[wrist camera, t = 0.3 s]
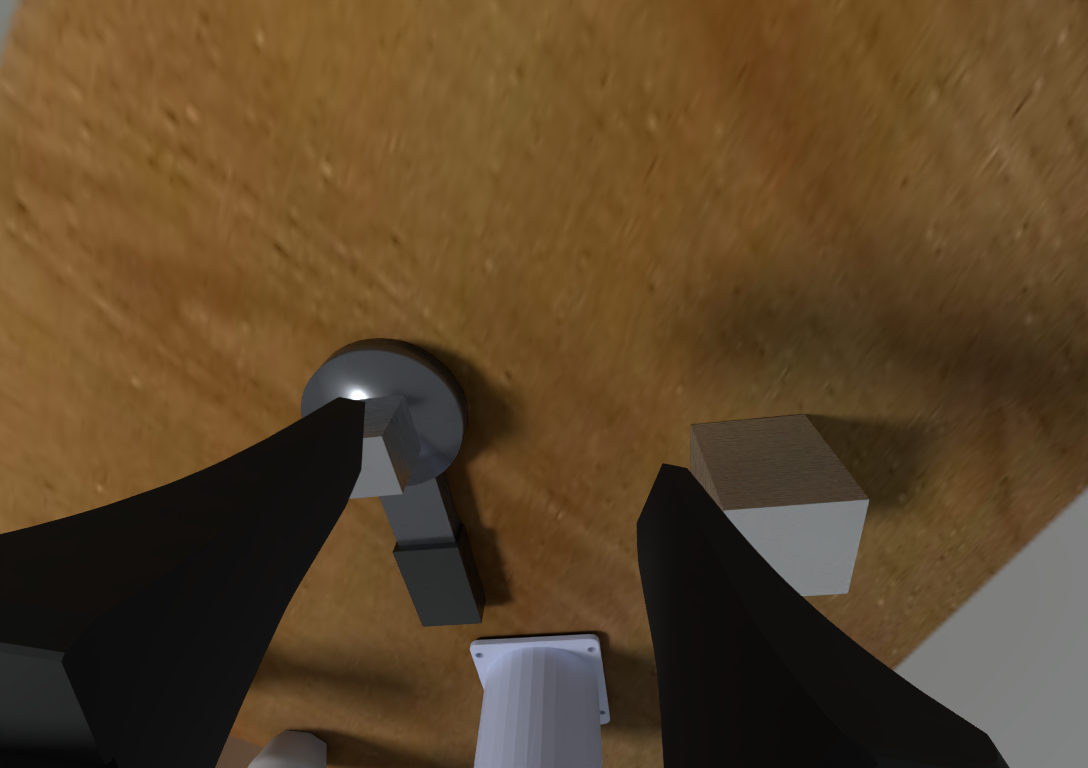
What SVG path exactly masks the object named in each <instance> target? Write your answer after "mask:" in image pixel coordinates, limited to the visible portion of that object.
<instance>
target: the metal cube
mask: <svg viewBox="0 0 1088 768" xmlns="http://www.w3.org/2000/svg"><path fill="white" fill-rule="evenodd" d="M691 473H692V474H693V476H694V477H695V478H696V479H697V480H698V482H699V483H700V484H701V485H702V486H703V488H704V489H705V490H706V491H707V493H708V494H709V495H710V496H711V497H712V499H713V500H714V501H715V502H716V504H717V505H718V506H719V507H720V509H721V510H722V511H723V512H724V513H725V515H726V516H727V517H728V518H729V519H730V521H731V522H732V523H733V524H734V525H735V527H736V528H737V529H738V530H739V531H740V532H741V534H742V535H743V536H744V537H745V538H746V539H747V540H748V542H749V543H750V544H751V545H752V546H753V547H754V548H755V549H756V550H757V551H758V553H759V554H760V555H761V556H762V557H763V558H764V559H765V560H766V561H767V562H768V563H769V564H770V565H771V566H772V568H773V569H774V570H775V571H776V572H777V573H778V574H779V575H780V576H781V577H782V578H783V579H784V580H785V581H786V582H787V583H788V584H789V585H791V586H792V587H793V588H794V589H795V590H796V591H797V592H798V593H799V594H800V595H801V596H812V595H829V594H846V593H848V590H849V585H850V581H851V577H852V572H853V568H854V564H855V560H856V555H857V551H858V547H859V542H860V538H861V534H862V529H863V525H864V521H865V517H866V512H867V508H868V504H869V498H868V497H867V496H866V494H865V493H864V492H863V490H862V489H861V488H860V486H859V485H858V484H857V482H856V481H855V480H854V479H853V477H852V476H851V475H850V473H849V472H848V471H847V469H846V468H845V467H844V465H843V464H842V463H841V461H840V460H839V459H838V457H837V456H836V455H835V453H834V452H833V451H832V450H831V448H830V447H829V446H828V444H827V443H826V442H825V440H824V439H823V438H822V436H821V435H820V434H819V432H818V431H817V430H816V428H815V427H814V426H813V424H812V423H811V422H810V421H809V419H808V418H807V417H806V415H805V414H802V415H791V416H780V417H770V418H759V419H748V420H738V421H727V422H716V423H705V424H695V425H691Z"/></svg>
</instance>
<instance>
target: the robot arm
mask: <svg viewBox="0 0 1088 768" xmlns="http://www.w3.org/2000/svg"><path fill="white" fill-rule="evenodd" d="M364 416H365V402H362V401H358V400H353V399H348V398H343V397H338V398H336V399H334V400H332V401H330V402H329V403H327V404H325V405H324V406H322V407H320V408H319V409H317V410H315V411H314V412H312V413H310V414H308V415H307V416H305V417H303V418H302V419H300V420H298V421H297V422H295V423H293V424H292V425H290V426H288V427H286V428H284V429H283V430H281V431H279V432H277V433H276V434H274V435H272V436H270V437H269V438H267V439H265V440H263V441H261V442H259V443H257V444H255V445H253V446H251V447H249V448H247V449H245V450H243V451H241V452H239V453H237V454H235V455H233V456H231V457H229V458H227V459H225V460H223V461H221V462H219V463H217V464H215V465H212V466H210V467H208V468H206V469H203V470H201V471H199V472H196V473H194V474H191V475H189V476H187V477H184V478H182V479H179V480H177V481H174V482H172V483H169V484H167V485H164V486H161V487H158V488H155V489H153V490H150V491H147V492H144V493H141V494H138V495H135V496H132V497H129V498H127V499H124V500H121V501H118V502H115V503H112V504H109V505H106V506H103V507H100V508H96V509H93V510H90V511H86V512H83V513H79V514H76V515H73V516H69V517H66V518H62V519H58V520H55V521H51V522H47V523H43V524H40V525H36V526H32V527H28V528H24V529H20V530H16V531H12V532H8V533H3V534H0V768H215V766H216V764H217V761H218V759H219V757H220V754H221V752H222V750H223V747H224V745H225V743H226V740H227V738H228V736H229V733H230V731H231V729H232V726H233V724H234V722H235V719H236V717H237V715H238V712H239V710H240V708H241V705H242V703H243V701H244V698H245V696H246V694H247V692H248V690H249V687H250V685H251V683H252V681H253V679H254V676H255V674H256V672H257V670H258V667H259V665H260V663H261V661H262V659H263V656H264V654H265V652H266V650H267V648H268V646H269V643H270V641H271V639H272V637H273V635H274V633H275V631H276V629H277V627H278V624H279V622H280V620H281V618H282V616H283V614H284V612H285V610H286V608H287V606H288V604H289V602H290V600H291V598H292V597H293V595H294V593H295V591H296V589H297V588H298V586H299V584H300V583H301V581H302V579H303V578H304V576H305V574H306V573H307V571H308V569H309V568H310V566H311V564H312V563H313V561H314V559H315V558H316V556H317V554H318V553H319V551H320V549H321V548H322V546H323V544H324V543H325V541H326V539H327V538H328V536H329V534H330V532H331V531H332V529H333V527H334V526H335V524H336V522H337V521H338V519H339V517H340V516H341V514H342V512H343V510H344V509H345V507H346V505H347V502H348V500H349V498H350V496H351V494H352V491H353V489H354V487H355V484H356V482H357V479H358V477H359V475H360V472H361V470H362V452H363V434H364ZM637 549H638V564H639V570H640V576H641V581H642V587H643V593H644V598H645V604H646V609H647V614H648V620H649V625H650V631H651V636H652V642H653V647H654V653H655V660H656V667H657V675H658V688H659V700H660V712H661V728H662V744H663V761H664V768H1009V766H1008V765H1007V763H1006V762H1005V760H1004V759H1003V758H1002V756H1001V754H1000V753H999V751H998V750H997V748H996V747H995V745H994V743H993V742H992V741H991V739H990V737H989V736H988V735H987V734H986V733H985V732H983V731H982V730H980V729H979V728H977V727H975V726H974V725H972V724H971V723H969V722H968V721H966V720H965V719H963V718H962V717H960V716H959V715H957V714H956V713H954V712H953V711H951V710H949V709H948V708H946V707H945V706H943V705H942V704H940V703H939V702H937V701H936V700H934V699H932V698H931V697H929V696H928V695H926V694H925V693H923V692H922V691H921V690H919V689H918V688H916V687H915V686H913V685H912V684H911V683H909V682H908V681H906V680H905V679H904V678H902V677H901V676H900V675H898V674H897V673H895V672H894V671H893V670H891V669H890V668H889V667H887V666H886V665H884V664H883V663H882V662H880V661H879V660H878V659H876V658H875V657H874V656H872V655H871V654H870V653H869V652H867V651H866V650H865V649H863V648H862V647H861V646H860V645H858V644H857V643H856V642H855V641H853V640H852V639H851V638H850V637H848V636H847V635H846V634H845V633H844V632H842V631H841V630H840V629H839V628H838V627H836V626H835V625H834V624H833V623H831V622H830V621H829V620H828V619H827V618H826V617H824V616H823V615H822V614H821V613H820V612H819V611H818V610H816V609H815V608H814V607H813V606H812V605H811V604H810V603H809V602H808V601H807V600H805V599H804V598H803V597H802V596H801V595H800V594H799V593H798V592H797V591H796V590H795V589H794V588H793V587H792V586H791V585H789V584H788V583H787V582H786V581H785V580H784V579H783V578H782V577H781V576H780V575H779V574H778V573H777V572H776V571H775V570H774V569H773V568H772V566H771V565H770V564H769V563H768V562H767V561H766V560H765V559H764V558H763V557H762V556H761V555H760V554H759V553H758V551H757V550H756V549H755V548H754V547H753V546H752V545H751V544H750V543H749V542H748V540H747V539H746V538H745V537H744V536H743V535H742V534H741V532H740V531H739V530H738V529H737V528H736V527H735V525H734V524H733V523H732V522H731V521H730V519H729V518H728V517H727V516H726V515H725V513H724V512H723V511H722V510H721V509H720V507H719V506H718V505H717V504H716V502H715V501H714V500H713V499H712V497H711V496H710V495H709V494H708V493H707V491H706V490H705V489H704V488H703V486H702V485H701V484H700V483H699V482H698V480H697V479H696V478H695V477H694V476H693V474H692V473H691V472H690V471H689V470H688V469H687V468H684V467H679V466H674V465H669V464H664V463H663V464H662V466H661V468H660V471H659V473H658V475H657V478H656V480H655V482H654V484H653V487H652V489H651V491H650V494H649V496H648V498H647V501H646V503H645V505H644V508H643V510H642V512H641V515H640V517H639V519H638V521H637ZM470 651H471V654H472V657H473V660H474V663H475V666H476V668H477V671H478V674H479V677H480V680H481V683H482V686H483V689H484V697H483V704H482V711H481V718H480V726H479V733H478V740H477V748H476V755H475V762H474V768H603V762H602V745H601V727H600V724H606V723H608V722H609V721H610V714H609V706H608V699H607V692H606V685H605V678H604V671H603V663H602V656H601V649H600V642H599V638H598V636H596V635H594V634H581V635H562V636H543V637H525V638H506V639H487V640H475V641H473V642H472V643H471V646H470Z"/></svg>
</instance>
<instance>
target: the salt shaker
mask: <svg viewBox="0 0 1088 768" xmlns="http://www.w3.org/2000/svg"><path fill="white" fill-rule="evenodd" d="M326 751H327V744H326V743H324V742H323V741H322V740H320V739H319V738H317V737H316V736H314V735H313V734H311V733H307V732H298V731H289V730H285V731H284V732H282V733H280V734H279V735H277V736H276V737H274V738H273V739H272V740H271V741H270V742H269V743H268V744H267V745H266V747H265V748H264V749H263V750H262V751H261V752H260V753H259V754H258V755H257V756H256V757H255V758H254V760H253V761H252V762H251V763H250V765H249V766H248V768H326Z"/></svg>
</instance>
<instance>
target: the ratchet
mask: <svg viewBox="0 0 1088 768" xmlns="http://www.w3.org/2000/svg"><path fill="white" fill-rule="evenodd" d="M338 397H343V398H348V399H353V400H358V401H362V402H365V416H364V434H363V452H362V470H361V472H360V475H359V477H358V479H357V482H356V484H355V487H354V489H353V491H352V494H351V496H350V498H349V499H351V498H363V497H374V496H379V497H380V500H381V502H382V505H383V507H384V510H385V512H386V515H387V518H388V520H389V523H390V525H391V528H392V530H393V533H394V535H395V538H396V540H397V542H396V545H395V547H394V550H393V554H394V557H395V559H396V562H397V564H398V567H399V569H400V571H401V574H402V576H403V579H404V581H405V584H406V586H407V589H408V591H409V594H410V596H411V598H412V601H413V603H414V606H415V608H416V611H417V613H418V616H419V618H420V621H421V623H422V625H423V627H424V626H442V625H459V624H477V623H482V618H483V611H484V605H485V599H486V598H485V595H484V592H483V588H482V585H481V582H480V578H479V575H478V571H477V568H476V565H475V561H474V558H473V555H472V551H471V548H470V545H469V541H468V538H467V535H466V531H465V528H464V525H463V524H459V520H458V517H457V514H456V511H455V507H454V504H453V501H452V497H451V494H450V491H449V487H448V484H447V481H446V478H445V474H444V471H445V470H446V469H447V468H448V467H449V466H450V465H451V464H452V462H453V461H454V459H455V458H456V456H457V454H458V452H459V449H460V446H461V443H462V439H463V436H464V433H465V429H466V426H467V419H468V409H467V403H466V399H465V396H464V393H463V390H462V388H461V386H460V384H459V383H458V381H457V380H456V378H455V377H454V375H453V374H452V373H451V372H450V371H449V369H448V368H447V367H446V366H445V365H444V364H443V363H441V362H440V361H439V360H438V359H436V358H435V357H434V356H432V355H431V354H429V353H428V352H426V351H424V350H422V349H420V348H418V347H416V346H413V345H411V344H408V343H404V342H401V341H396V340H391V339H366V340H361V341H357V342H354V343H351V344H348V345H346V346H344V347H342V348H340V349H339V350H337V351H336V352H335V353H333V354H332V355H331V356H330V357H329V358H328V359H327V360H326V361H325V362H324V364H323V365H322V366H321V367H320V368H319V369H318V370H317V371H316V372H315V373H314V374H313V376H312V377H311V379H310V380H309V381H308V383H307V385H306V387H305V389H304V392H303V396H302V402H301V414H302V418H303V417H305V416H307V415H308V414H310V413H312V412H314V411H315V410H317V409H319V408H320V407H322V406H324V405H325V404H327V403H329V402H330V401H332V400H334V399H336V398H338Z"/></svg>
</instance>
